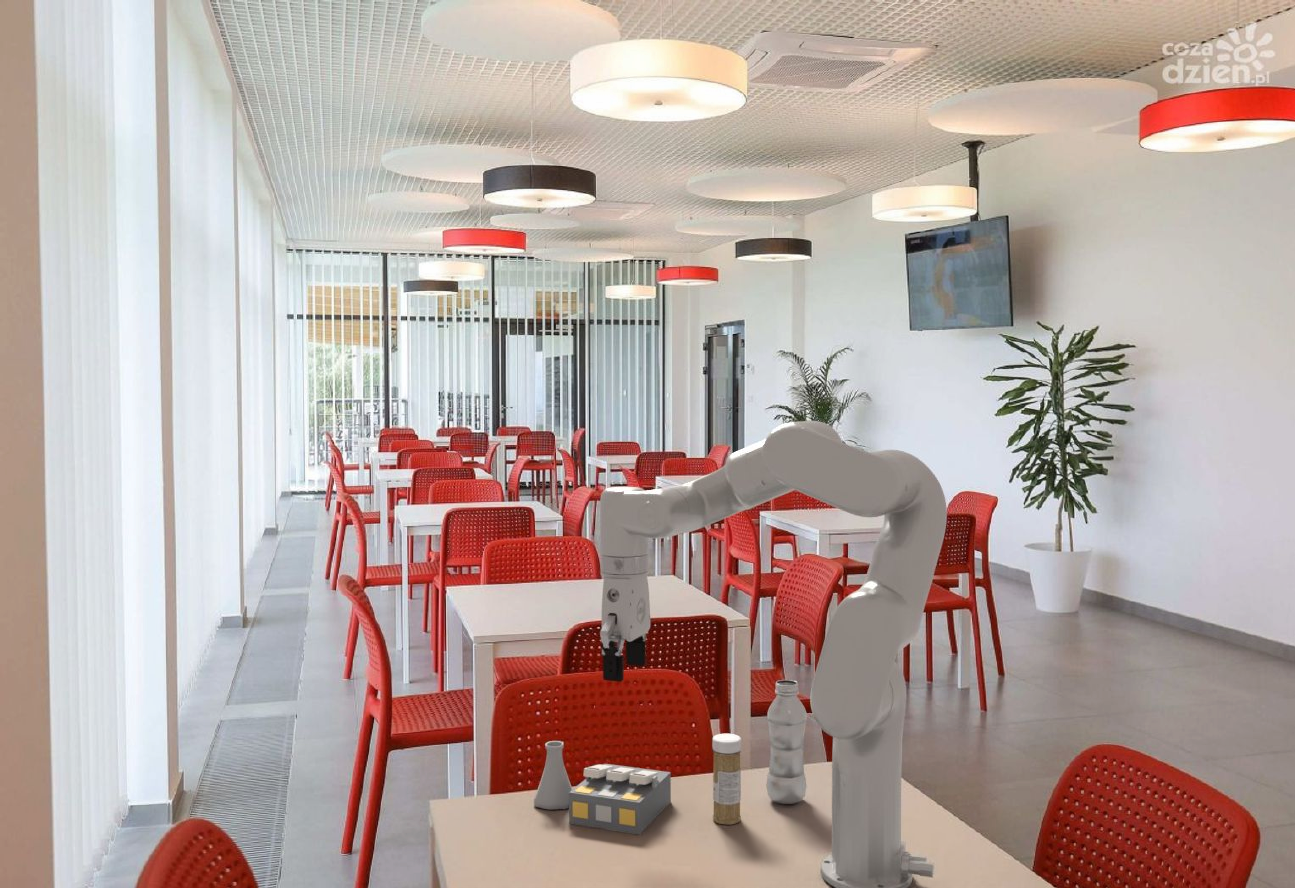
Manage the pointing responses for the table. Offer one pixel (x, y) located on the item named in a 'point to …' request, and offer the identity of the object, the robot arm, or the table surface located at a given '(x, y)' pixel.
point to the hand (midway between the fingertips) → (624, 672)
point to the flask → (553, 780)
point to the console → (619, 802)
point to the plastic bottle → (786, 745)
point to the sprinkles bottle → (726, 778)
